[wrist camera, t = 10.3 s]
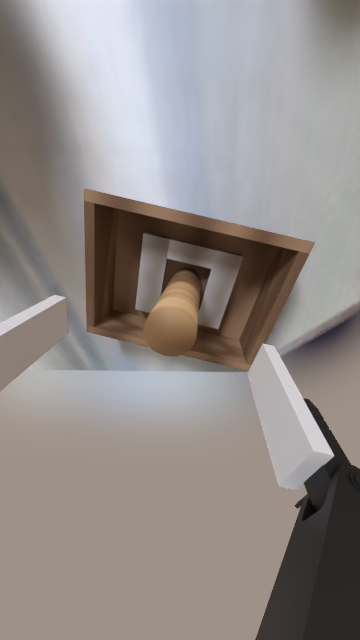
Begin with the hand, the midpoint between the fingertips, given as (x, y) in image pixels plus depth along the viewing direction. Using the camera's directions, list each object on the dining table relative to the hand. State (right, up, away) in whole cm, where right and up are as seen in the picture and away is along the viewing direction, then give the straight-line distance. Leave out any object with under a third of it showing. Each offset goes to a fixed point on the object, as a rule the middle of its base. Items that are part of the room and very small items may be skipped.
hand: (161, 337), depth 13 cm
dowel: (+2, +6, +14) cm, 15 cm away
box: (+2, +7, +14) cm, 16 cm away
